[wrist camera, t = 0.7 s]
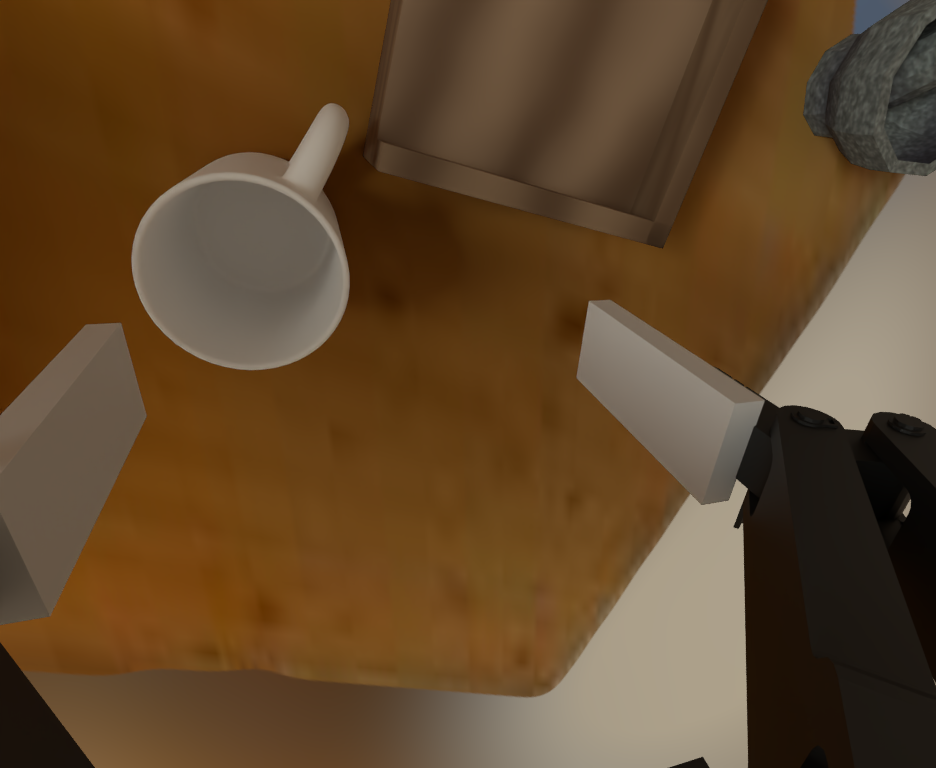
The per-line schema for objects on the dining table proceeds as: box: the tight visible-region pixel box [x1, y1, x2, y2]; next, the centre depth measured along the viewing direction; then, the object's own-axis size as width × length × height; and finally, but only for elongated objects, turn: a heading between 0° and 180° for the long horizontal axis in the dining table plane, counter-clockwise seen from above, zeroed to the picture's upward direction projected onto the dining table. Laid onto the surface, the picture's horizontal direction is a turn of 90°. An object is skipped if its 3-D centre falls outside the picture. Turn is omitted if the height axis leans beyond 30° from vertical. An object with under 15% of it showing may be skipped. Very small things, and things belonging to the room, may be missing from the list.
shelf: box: [363, 0, 768, 248], centre depth 26 cm, size 16×15×8 cm
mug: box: [131, 103, 350, 370], centre depth 25 cm, size 12×8×10 cm
